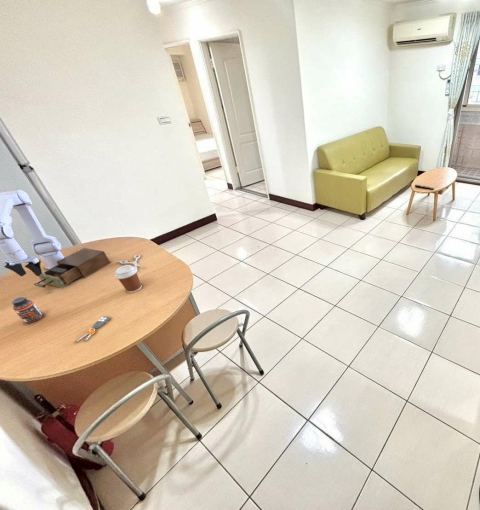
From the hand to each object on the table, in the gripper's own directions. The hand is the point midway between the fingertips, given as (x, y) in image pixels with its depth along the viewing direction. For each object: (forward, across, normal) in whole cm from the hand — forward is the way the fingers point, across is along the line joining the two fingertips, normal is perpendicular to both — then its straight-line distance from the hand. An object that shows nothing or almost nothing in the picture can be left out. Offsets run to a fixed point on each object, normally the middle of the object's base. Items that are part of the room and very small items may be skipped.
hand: (31, 274), depth 130 cm
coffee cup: (+11, +44, +2) cm, 45 cm away
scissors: (+10, +31, +23) cm, 40 cm away
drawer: (+10, +3, +7) cm, 12 cm away
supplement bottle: (+11, +12, -18) cm, 24 cm away
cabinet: (+10, +6, +20) cm, 23 cm away
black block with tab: (+8, +4, +9) cm, 13 cm away
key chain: (+11, +43, -25) cm, 51 cm away
